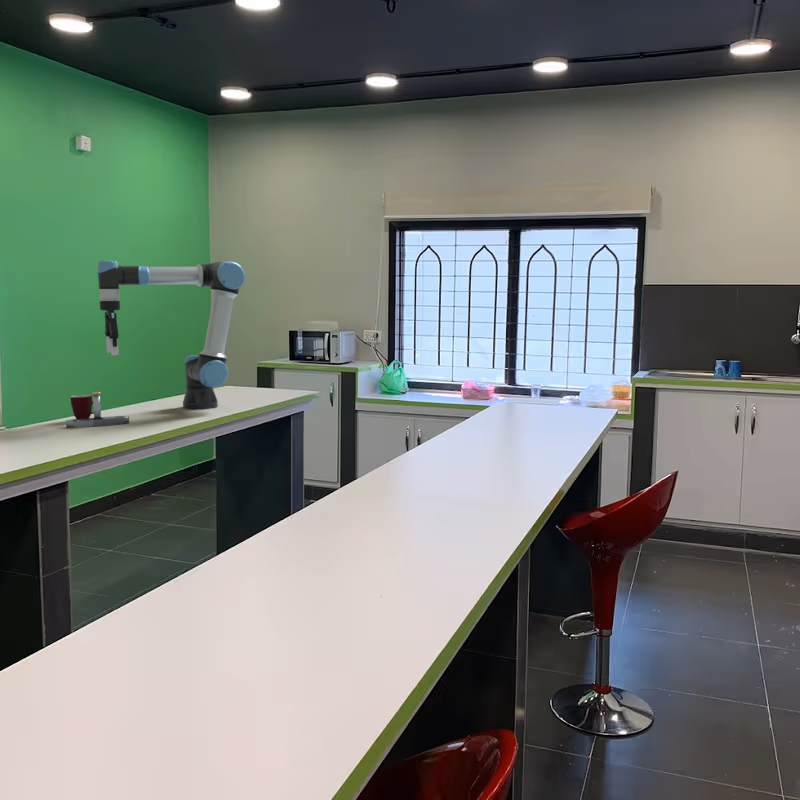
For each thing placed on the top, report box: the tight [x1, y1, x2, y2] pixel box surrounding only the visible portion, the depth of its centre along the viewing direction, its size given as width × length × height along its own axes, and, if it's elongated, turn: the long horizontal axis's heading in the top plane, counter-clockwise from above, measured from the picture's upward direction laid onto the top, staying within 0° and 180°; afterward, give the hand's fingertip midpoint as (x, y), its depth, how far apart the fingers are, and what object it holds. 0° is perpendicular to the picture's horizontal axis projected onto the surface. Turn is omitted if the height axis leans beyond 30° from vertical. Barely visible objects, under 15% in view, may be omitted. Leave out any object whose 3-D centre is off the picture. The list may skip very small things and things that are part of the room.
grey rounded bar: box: [65, 415, 130, 429], centre depth 307 cm, size 23×5×2 cm, turn 117°
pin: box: [90, 391, 102, 420], centre depth 306 cm, size 3×3×13 cm
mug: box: [70, 394, 94, 419], centre depth 317 cm, size 11×8×10 cm
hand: (112, 353), depth 315 cm, fingers open, 13 cm apart
